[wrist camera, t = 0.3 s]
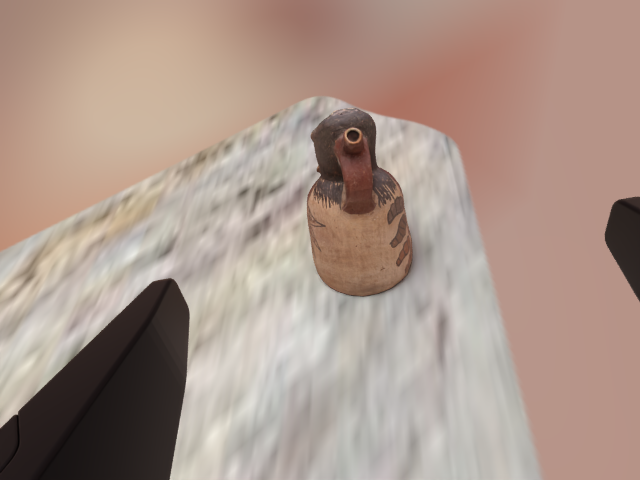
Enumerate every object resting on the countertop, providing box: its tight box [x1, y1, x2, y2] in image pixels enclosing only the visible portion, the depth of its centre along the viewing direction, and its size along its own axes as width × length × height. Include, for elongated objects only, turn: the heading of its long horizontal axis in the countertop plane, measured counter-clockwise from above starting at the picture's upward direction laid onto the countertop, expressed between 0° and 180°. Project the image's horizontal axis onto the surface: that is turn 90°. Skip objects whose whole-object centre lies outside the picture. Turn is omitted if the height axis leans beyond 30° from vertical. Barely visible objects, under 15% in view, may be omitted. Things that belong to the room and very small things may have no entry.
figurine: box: [307, 108, 412, 296], centre depth 29 cm, size 7×7×12 cm
